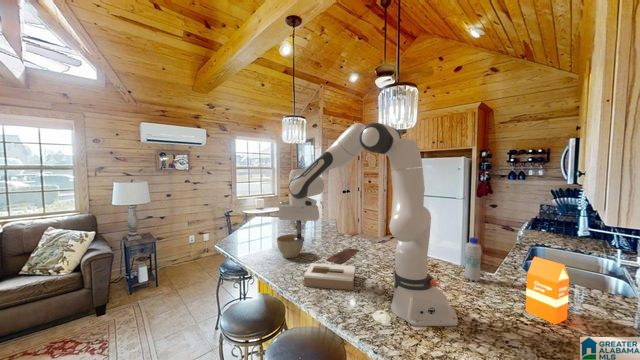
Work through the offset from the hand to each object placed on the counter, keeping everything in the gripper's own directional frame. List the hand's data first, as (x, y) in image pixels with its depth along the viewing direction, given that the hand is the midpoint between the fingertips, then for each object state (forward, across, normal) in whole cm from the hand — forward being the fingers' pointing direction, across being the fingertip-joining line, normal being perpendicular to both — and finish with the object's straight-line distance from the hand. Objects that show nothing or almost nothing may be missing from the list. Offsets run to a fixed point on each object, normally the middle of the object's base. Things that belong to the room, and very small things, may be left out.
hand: (299, 229), depth 124 cm
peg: (+6, 0, 0) cm, 6 cm away
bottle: (+23, +81, +8) cm, 85 cm away
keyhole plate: (+23, +16, -5) cm, 29 cm away
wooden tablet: (+24, +19, +29) cm, 42 cm away
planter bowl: (+23, -13, +23) cm, 35 cm away
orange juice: (+24, +96, -17) cm, 101 cm away
